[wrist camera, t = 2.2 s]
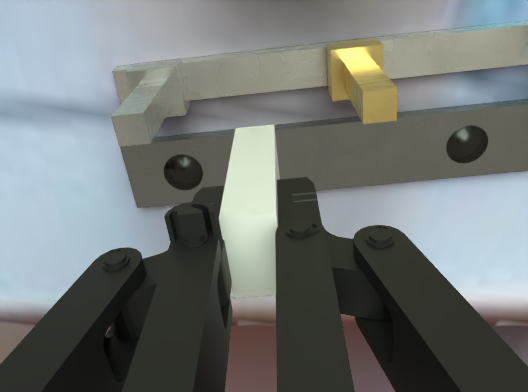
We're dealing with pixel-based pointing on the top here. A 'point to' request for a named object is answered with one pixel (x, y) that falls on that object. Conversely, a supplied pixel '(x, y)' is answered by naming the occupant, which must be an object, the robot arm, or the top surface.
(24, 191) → the top surface
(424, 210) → the top surface
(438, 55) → the rail
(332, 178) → the hole plate
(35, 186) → the top surface
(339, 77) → the slider
